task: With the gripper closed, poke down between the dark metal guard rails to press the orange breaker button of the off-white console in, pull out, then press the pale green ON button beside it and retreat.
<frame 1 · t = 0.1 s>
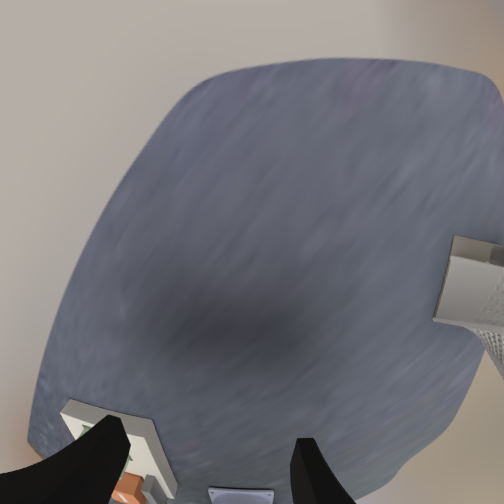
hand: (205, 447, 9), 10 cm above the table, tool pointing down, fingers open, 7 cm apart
console: (126, 449, 23), on the table
breaker button: (126, 488, 20), point 4 cm above the table, slide at 0.0 cm
on button: (102, 452, 18), point 4 cm above the table, slide at 0.0 cm
skyscraper: (461, 287, 18), on the table
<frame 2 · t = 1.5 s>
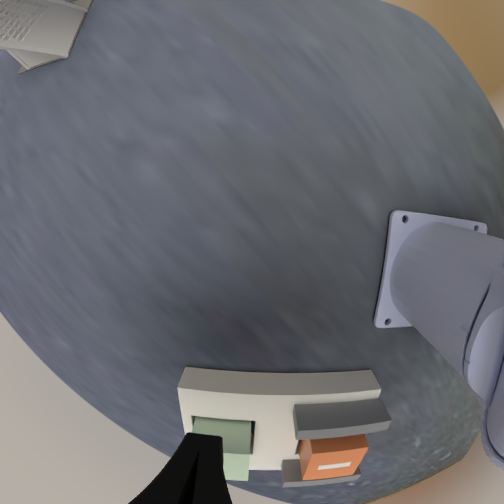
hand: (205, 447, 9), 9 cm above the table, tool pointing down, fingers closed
console: (275, 417, 20), on the table
breaker button: (330, 449, 16), point 4 cm above the table, slide at 0.0 cm
on button: (221, 450, 16), point 4 cm above the table, slide at 0.0 cm
skyscraper: (60, 38, 13), on the table
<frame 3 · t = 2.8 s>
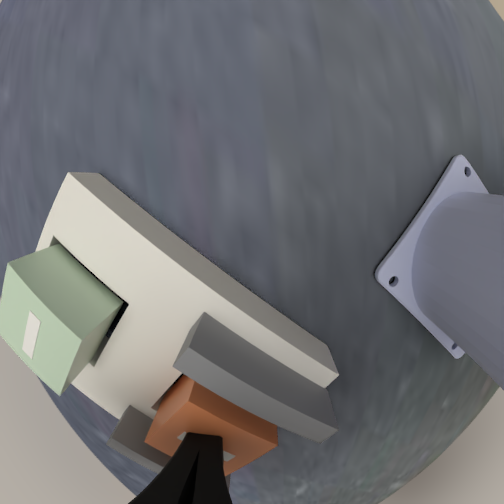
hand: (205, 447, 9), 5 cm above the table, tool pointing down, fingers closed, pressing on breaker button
console: (157, 336, 13), on the table
breaker button: (212, 420, 10), point 3 cm above the table, slide at 0.7 cm, touching gripper
on button: (54, 319, 9), point 4 cm above the table, slide at 0.0 cm
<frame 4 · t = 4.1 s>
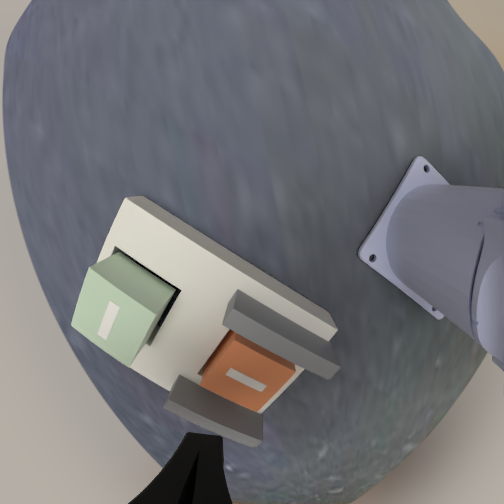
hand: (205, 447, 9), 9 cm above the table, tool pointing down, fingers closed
console: (197, 317, 18), on the table
breaker button: (247, 364, 16), point 2 cm above the table, slide at 1.8 cm
on button: (121, 308, 14), point 4 cm above the table, slide at 0.0 cm
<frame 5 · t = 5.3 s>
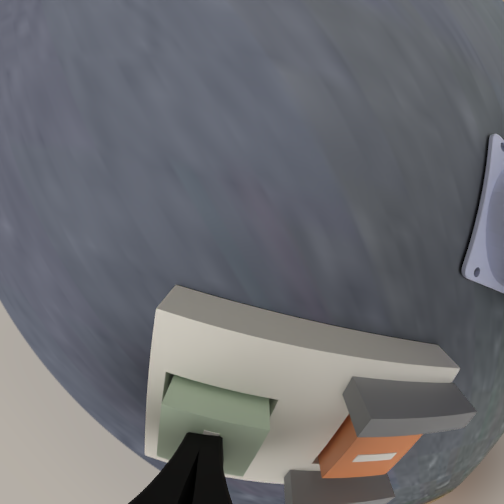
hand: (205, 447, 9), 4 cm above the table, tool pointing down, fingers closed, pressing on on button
console: (293, 403, 13), on the table
breaker button: (367, 435, 11), point 2 cm above the table, slide at 1.8 cm
on button: (211, 420, 10), point 2 cm above the table, slide at 1.5 cm, touching gripper
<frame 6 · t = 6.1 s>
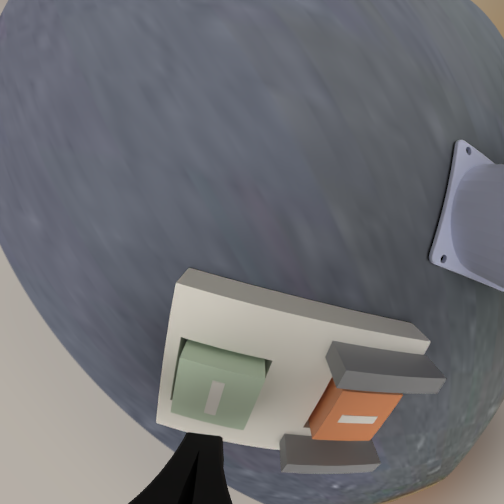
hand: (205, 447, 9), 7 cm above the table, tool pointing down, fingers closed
console: (285, 372, 16), on the table
breaker button: (351, 401, 14), point 2 cm above the table, slide at 1.8 cm
on button: (217, 379, 14), point 2 cm above the table, slide at 1.8 cm
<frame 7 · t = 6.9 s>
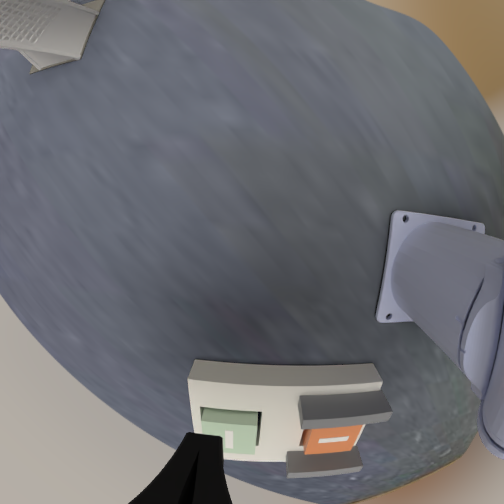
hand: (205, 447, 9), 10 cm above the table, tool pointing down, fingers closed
console: (280, 409, 21), on the table
breaker button: (330, 425, 19), point 2 cm above the table, slide at 1.8 cm
on button: (231, 424, 19), point 2 cm above the table, slide at 1.8 cm
skyscraper: (71, 39, 14), on the table
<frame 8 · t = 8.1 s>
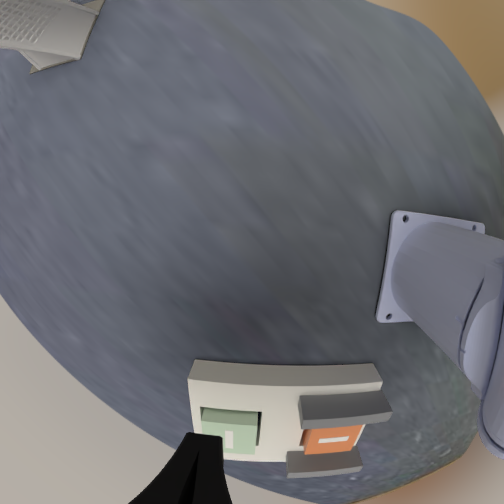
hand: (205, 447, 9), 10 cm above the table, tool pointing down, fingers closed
console: (280, 409, 21), on the table
breaker button: (330, 425, 19), point 2 cm above the table, slide at 1.8 cm
on button: (231, 424, 19), point 2 cm above the table, slide at 1.8 cm
skyscraper: (71, 39, 14), on the table
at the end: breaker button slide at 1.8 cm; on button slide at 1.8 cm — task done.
